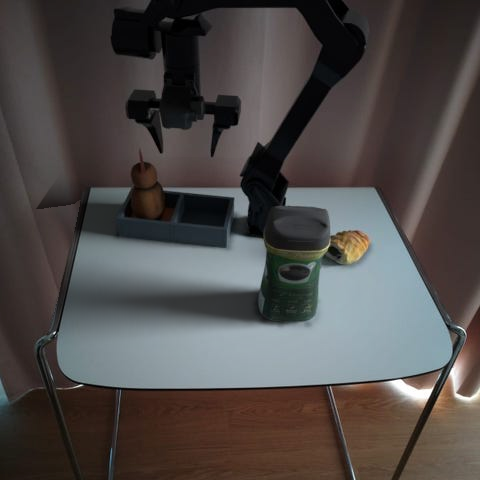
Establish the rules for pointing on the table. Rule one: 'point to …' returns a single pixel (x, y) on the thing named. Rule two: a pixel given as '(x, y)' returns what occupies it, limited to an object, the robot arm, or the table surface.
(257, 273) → the table surface
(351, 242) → the pastry
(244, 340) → the table surface
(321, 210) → the coffee jar
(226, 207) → the tray
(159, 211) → the wooden figurine
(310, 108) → the robot arm
